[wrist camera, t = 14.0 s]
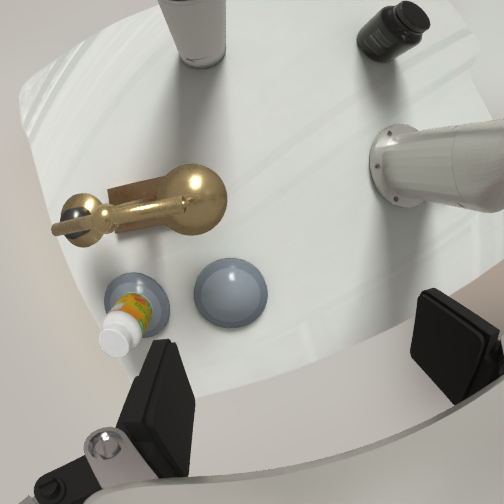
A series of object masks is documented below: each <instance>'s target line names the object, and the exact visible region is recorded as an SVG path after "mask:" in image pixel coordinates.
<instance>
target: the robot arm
mask: <svg viewBox="0 0 504 504" xmlns="http://www.w3.org/2000/svg"><path fill="white" fill-rule="evenodd" d="M387 134H388V135H387ZM375 166H376V168H375ZM370 170H371V175H372V178H373V181H374V183H375V186H376V187H377V189H378V191H379V192H380V194H381V195H382V196H383V197H384V198H385V199H386V200H387V201H389V202H390V203H392V204H394V205H396V206H399V207H405V208H411V207H415V206H418V205H420V204H421V203H423V202H424V201H430V202H435V203H440V204H446V205H451V206H455V207H460V208H465V209H470V210H474V211H479V212H484V213H495V212H498V211H501V210H503V209H504V119H499V120H493V121H486V122H478V123H470V124H462V125H455V126H448V127H441V128H435V129H428V130H422V131H418V130H417V129H415V128H413V127H411V126H409V125H404V124H398V125H393V126H390V127H387V128H385V129H384V130H383V131H381V132H380V133H379V135H378V136H377V137H376V139H375V141H374V143H373V145H372V149H371V152H370ZM499 332H500V330H499V329H497V328H496V327H494V326H493V325H491V324H490V323H488V322H487V321H485V320H484V319H482V318H481V317H480V316H478V315H477V314H475V313H473V312H472V311H470V310H469V309H467V308H466V307H464V306H463V305H461V304H460V303H458V302H457V301H455V300H453V299H452V298H450V297H449V296H447V295H446V294H444V293H442V292H441V291H439V290H438V289H436V288H431V289H428V290H424V291H422V292H421V294H420V296H419V297H418V300H417V309H416V318H415V324H414V331H413V337H412V343H411V348H410V354H411V357H412V359H414V361H415V362H416V363H417V364H418V365H419V366H420V367H421V368H422V370H423V371H424V372H425V373H426V374H427V375H428V376H429V377H430V378H431V379H432V381H433V382H434V383H435V384H436V385H437V386H438V387H439V388H440V390H441V391H442V392H443V393H444V394H445V395H446V396H447V398H448V399H449V400H450V401H451V402H452V403H453V404H454V405H455V406H453V407H452V408H450V409H448V410H446V411H444V412H442V413H440V414H438V415H437V416H435V417H433V418H431V419H429V420H427V421H424V422H422V423H420V424H418V425H416V426H414V427H412V428H409V429H407V430H405V431H403V432H400V433H398V434H395V435H393V436H390V437H388V438H385V439H383V440H380V441H378V442H375V443H372V444H369V445H366V446H363V447H360V448H357V449H354V450H351V451H348V452H344V453H341V454H338V455H334V456H331V457H327V458H323V459H319V460H315V461H311V462H306V463H302V464H297V465H293V466H287V467H281V468H276V469H269V470H263V471H256V472H248V473H239V474H230V475H218V476H198V477H188V475H189V465H190V454H191V443H192V432H193V422H194V413H195V398H194V394H193V392H192V389H191V386H190V383H189V381H188V378H187V375H186V372H185V369H184V366H183V363H182V360H181V357H180V354H179V351H178V347H177V345H176V343H175V342H173V343H171V341H170V339H162V340H154V341H153V342H152V345H151V347H150V349H149V352H148V354H147V357H146V359H145V362H144V364H143V367H142V369H141V372H140V374H139V376H137V377H135V379H134V381H133V383H132V386H131V388H130V391H129V393H128V396H127V398H126V401H125V403H124V406H123V409H122V412H121V414H120V417H119V420H118V422H117V425H116V427H115V428H113V427H106V428H101V429H98V430H96V431H94V432H93V433H91V434H90V435H89V436H88V437H87V439H86V441H85V443H84V453H85V455H84V456H82V457H80V458H78V459H76V460H74V461H72V462H70V463H68V464H66V465H64V466H62V467H60V468H58V469H55V470H53V471H51V472H49V473H47V474H45V475H43V476H42V477H40V478H39V479H38V480H37V482H36V484H35V486H34V495H35V496H34V497H33V498H32V497H30V496H28V497H26V498H25V499H24V500H23V501H22V502H20V503H19V504H504V334H503V335H502V337H501V340H500V341H499V340H498V335H499Z"/></svg>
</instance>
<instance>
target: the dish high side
mask: <svg viewBox="0 0 504 504" xmlns="http://www.w3.org/2000/svg"><path fill="white" fill-rule="evenodd" d="M267 297H268V292H267V286H266V283H265V280H264V278H263V276H262V274H261V273H260V271H259V270H258V269H257V268H256V267H255V266H253V265H252V264H250V263H249V262H246V261H244V260H241V259H236V258H225V259H220V260H217V261H215V262H213V263H211V264H209V265H208V266H207V267H206V268H205V269H204V270H203V271H202V272H201V273H200V275H199V276H198V279H197V281H196V285H195V288H194V300H195V304H196V307H197V309H198V310H199V312H200V313H201V315H202V316H203V317H204V318H205V319H206V320H208V321H209V322H211V323H212V324H214V325H217V326H220V327H224V328H237V327H242V326H245V325H247V324H249V323H251V322H253V321H254V320H255V319H257V318H258V317H259V315H260V314H261V313H262V312H263V310H264V308H265V306H266V303H267Z"/></svg>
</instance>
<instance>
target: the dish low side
mask: <svg viewBox="0 0 504 504" xmlns="http://www.w3.org/2000/svg"><path fill="white" fill-rule="evenodd" d="M128 292H138V293H140V294H142V295H144V296H145V297H146V298H147V299H148V300H149V301H150V303H151V304H152V307H153V316H152V319H151V321H150V323H149V325H148V327H147V329H146V331H145V333H144V335H143V337H142V338H148V337H152V336H154V335H156V334H158V333H159V332H160V331H161V330H162V329H163V328H164V326H165V325H166V322H167V320H168V317H169V312H170V305H169V301H168V298H167V295H166V293H165V292H164V290H163V289H162V287H161V286H160V285H159V284H158V283H157V282H156V281H154V280H153V279H152V278H150V277H148V276H146V275H143V274H140V273H126V274H123V275H120V276H119V277H117V278H116V279H115V280H114V281H113V282H112V283H111V284H110V285H109V286H108V288H107V290H106V292H105V297H104V305H105V310H106V313H107V314H108V312H109V311H110V310H111V309H112V307H113V306H114V305H115V304H116V303H117V301H118V300H119V299H120V298H121V297H122V296H123V295H124V294H126V293H128Z"/></svg>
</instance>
